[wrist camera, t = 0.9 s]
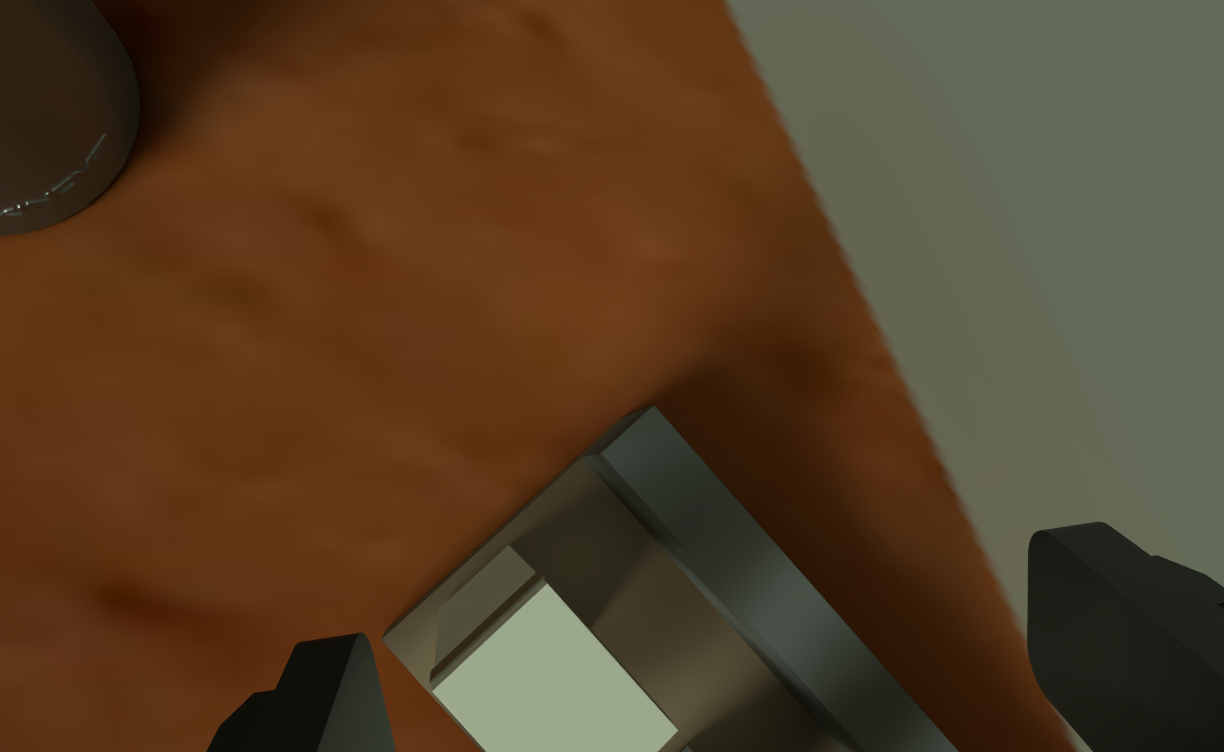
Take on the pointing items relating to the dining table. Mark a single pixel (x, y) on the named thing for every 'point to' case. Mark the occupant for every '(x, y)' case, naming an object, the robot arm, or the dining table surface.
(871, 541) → the dining table surface
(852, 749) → the dark grey block stand
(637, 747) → the white tall block
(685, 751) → the slate key
